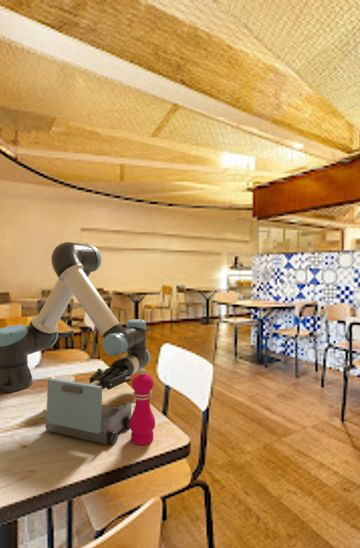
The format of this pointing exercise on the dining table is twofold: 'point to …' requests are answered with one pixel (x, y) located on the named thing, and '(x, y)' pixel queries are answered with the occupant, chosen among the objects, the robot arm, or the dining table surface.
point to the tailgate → (74, 405)
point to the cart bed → (110, 425)
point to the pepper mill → (142, 410)
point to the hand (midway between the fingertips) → (84, 393)
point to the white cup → (64, 377)
